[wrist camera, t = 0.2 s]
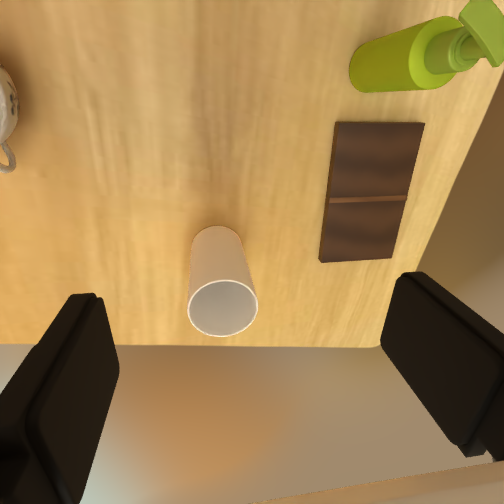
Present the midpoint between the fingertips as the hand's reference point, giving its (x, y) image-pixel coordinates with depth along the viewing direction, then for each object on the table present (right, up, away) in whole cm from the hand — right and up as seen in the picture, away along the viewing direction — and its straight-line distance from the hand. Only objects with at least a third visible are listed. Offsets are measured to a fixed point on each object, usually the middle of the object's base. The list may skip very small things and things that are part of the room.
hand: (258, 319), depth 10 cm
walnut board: (+18, +11, +39) cm, 44 cm away
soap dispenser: (+15, +27, +30) cm, 43 cm away
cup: (-6, +3, +39) cm, 40 cm away
